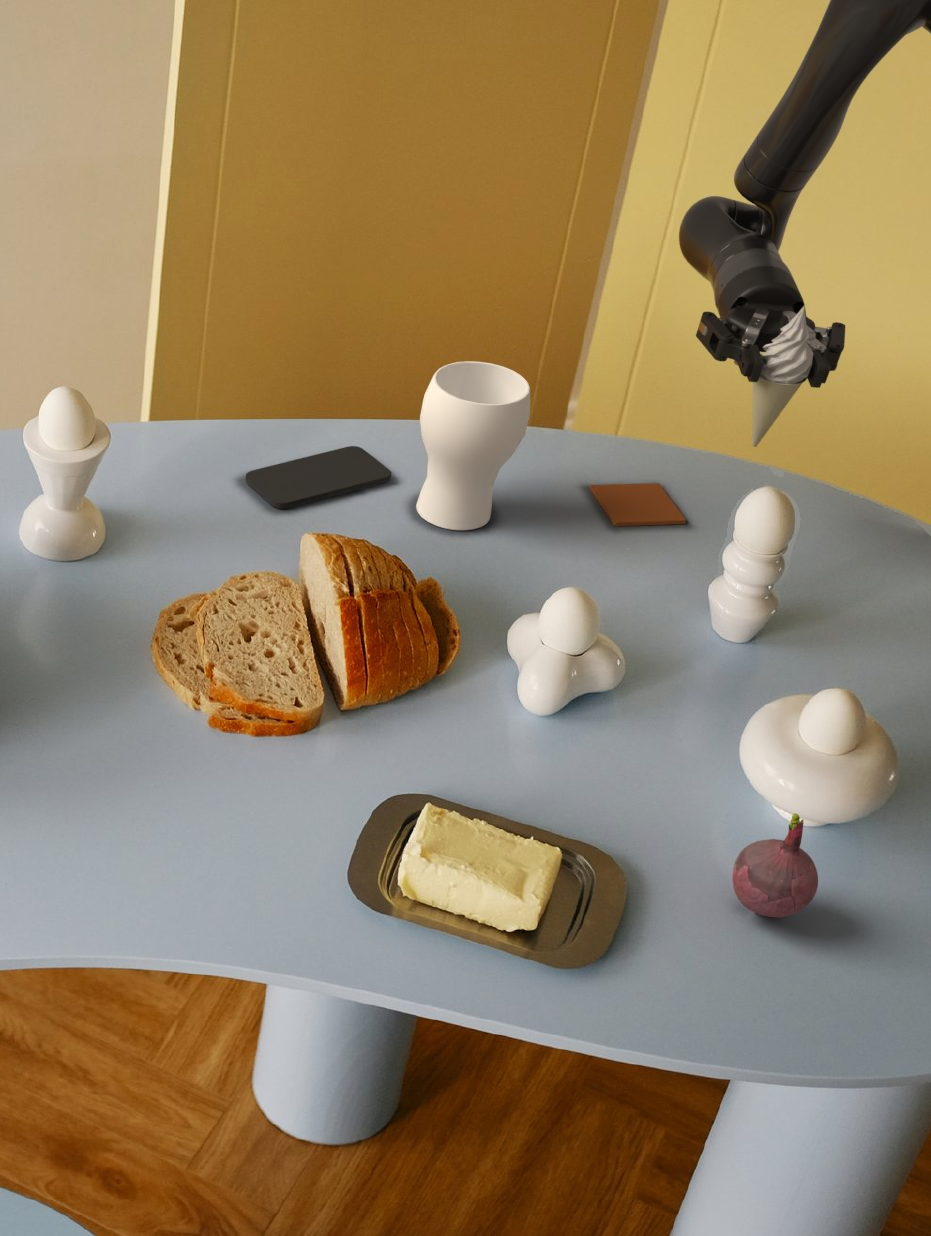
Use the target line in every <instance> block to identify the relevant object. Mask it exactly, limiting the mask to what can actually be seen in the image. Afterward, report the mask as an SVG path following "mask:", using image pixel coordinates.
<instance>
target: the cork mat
mask: <svg viewBox="0 0 931 1236" xmlns="http://www.w3.org/2000/svg"><path fill="white" fill-rule="evenodd" d="M589 490H590V491H591V493H592V494H593V496H594V497H595V499H596V500H597V502H598V504H599V505H600V506H601V508H602V509H603V511H604V512H605V514H606V516H607V517H608V519H610V521H611V523H612V524H613V526H614V527H633V526H634V527H635V526H665V525H670V526H671V525H686V523H687V519H686V518H685V516H684V515H683V514H682V512H681V511H680V509H678V507H677V506H676V504H675V503H674V502H673V500H672V499H671V498H670V496H669V495H668V493H667V492H666V491H665V489H664V488H663V487H662V485H661V484H660V482H652V483H651V482H650V483H649V482H648V483H619V484H617V483H616V484H615V483H614V484H613V483H612V484H591V485H590V486H589Z"/></svg>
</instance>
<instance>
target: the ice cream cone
mask: <svg viewBox="0 0 931 1236" xmlns="http://www.w3.org/2000/svg"><path fill="white" fill-rule="evenodd" d="M805 310H806V305H805V306H803V307H802V309H801V310H800V311H799V312H798V313H797V315H796V316H795V317H794V318H793V319H792V320H791V321H790V322H789V323H788V324H787V325H786V326H784V327H783V328H781V329H780V330H781V331H782V332H781V333H780V335H779V336H778V337H777V338H775V339H773V340H771V341H772V342H773V343H771V344H767V345H765V346H763V349H764V350H765V351H766V352H762V353H760V354H761V357H762V359H763V368H762V371H761V374H760V377H759V380H758V382H752V399H751V401H752V402H751V404H752V405H751V447H752V448H753V447H754V448H756V447H758V445H759V444H760V442H761V441H762V439H763V438H764V437H765V436H766V435H767V433H768V432H769V430H770V429H771V428H772V426H773V425H774V423H775V422H776V420H777V419H778V418H779V417H780V415H781V413H782V412H783V411H784V409H785V408H786V407H787V405H788V404H789V402H790V401H791V400H792V398H793V397H794V395H795V394H796V393H797V392H798V390H799V389H800V387H801V386H802V385H803V384H804V383H805V382H806V381H807V380H808V379H807V376H808V374H809V372H810V369H811V366H812V360H813V352H812V350H811V349H810V347H809V345H808V344H807V341H808V338H809V336H808V335H809V333H808V331H807V326H806V318H805Z"/></svg>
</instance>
